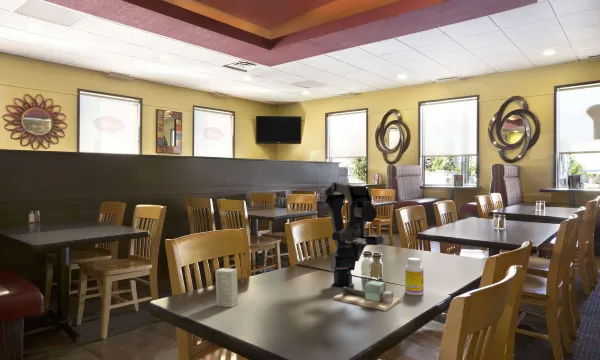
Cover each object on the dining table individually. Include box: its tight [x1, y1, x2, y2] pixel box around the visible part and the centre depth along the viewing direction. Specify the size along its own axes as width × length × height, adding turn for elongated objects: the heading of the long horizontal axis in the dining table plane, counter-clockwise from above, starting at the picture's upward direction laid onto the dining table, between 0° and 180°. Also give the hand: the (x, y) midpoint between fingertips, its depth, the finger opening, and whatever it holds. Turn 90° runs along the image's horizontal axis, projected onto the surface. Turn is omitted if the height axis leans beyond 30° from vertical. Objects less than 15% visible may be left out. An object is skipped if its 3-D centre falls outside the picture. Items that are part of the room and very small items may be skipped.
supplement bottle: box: [404, 257, 424, 296], centre depth 146 cm, size 7×7×13 cm
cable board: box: [333, 283, 402, 312], centre depth 138 cm, size 20×12×4 cm, turn 52°
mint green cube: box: [364, 279, 387, 302], centre depth 136 cm, size 5×5×5 cm
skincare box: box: [215, 267, 239, 308], centre depth 134 cm, size 6×4×12 cm
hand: (356, 261), depth 143 cm, fingers closed
